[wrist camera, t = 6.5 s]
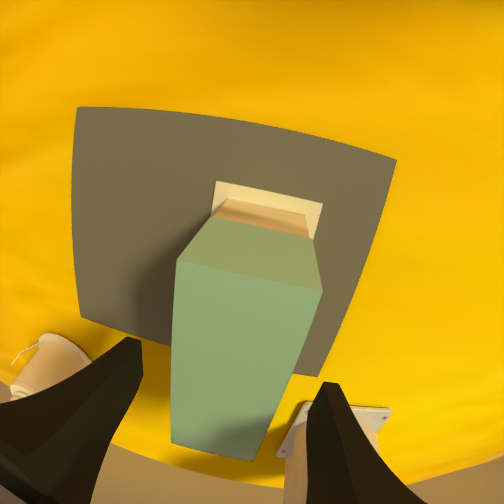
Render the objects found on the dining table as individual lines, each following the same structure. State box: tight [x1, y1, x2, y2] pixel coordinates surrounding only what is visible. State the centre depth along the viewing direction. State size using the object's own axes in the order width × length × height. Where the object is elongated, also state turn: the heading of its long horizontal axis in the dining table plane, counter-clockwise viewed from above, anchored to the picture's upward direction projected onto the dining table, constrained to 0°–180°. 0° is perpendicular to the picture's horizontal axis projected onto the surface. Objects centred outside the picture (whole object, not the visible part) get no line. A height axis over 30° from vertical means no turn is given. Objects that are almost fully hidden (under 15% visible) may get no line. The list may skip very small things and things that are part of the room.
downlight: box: [9, 333, 92, 402], centre depth 19 cm, size 8×7×10 cm
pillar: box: [214, 198, 309, 238], centre depth 14 cm, size 4×4×4 cm
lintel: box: [170, 217, 323, 461], centre depth 12 cm, size 10×4×4 cm, turn 169°
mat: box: [71, 107, 397, 377], centre depth 17 cm, size 15×18×1 cm
